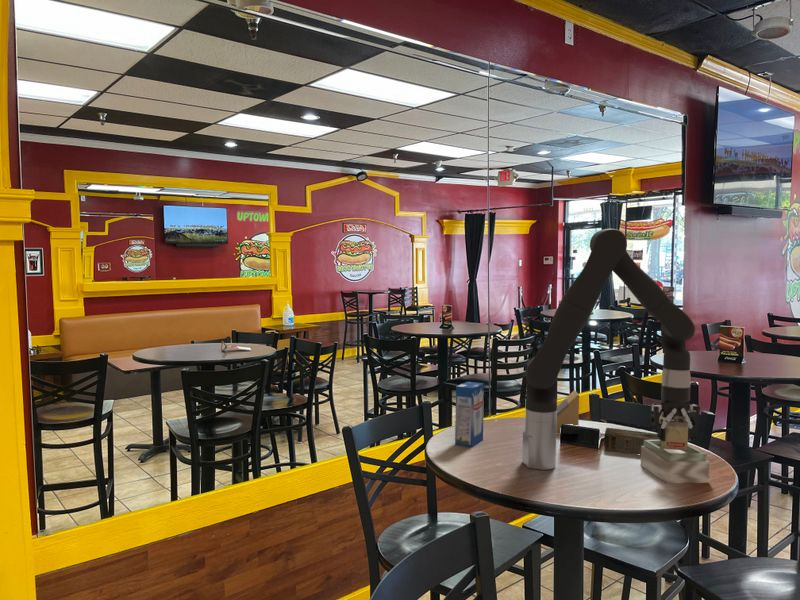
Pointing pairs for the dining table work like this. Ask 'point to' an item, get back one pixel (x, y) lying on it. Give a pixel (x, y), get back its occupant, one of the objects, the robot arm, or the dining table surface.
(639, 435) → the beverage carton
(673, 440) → the lighter
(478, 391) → the milk carton
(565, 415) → the sandwich container
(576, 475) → the dining table surface
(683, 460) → the stand
